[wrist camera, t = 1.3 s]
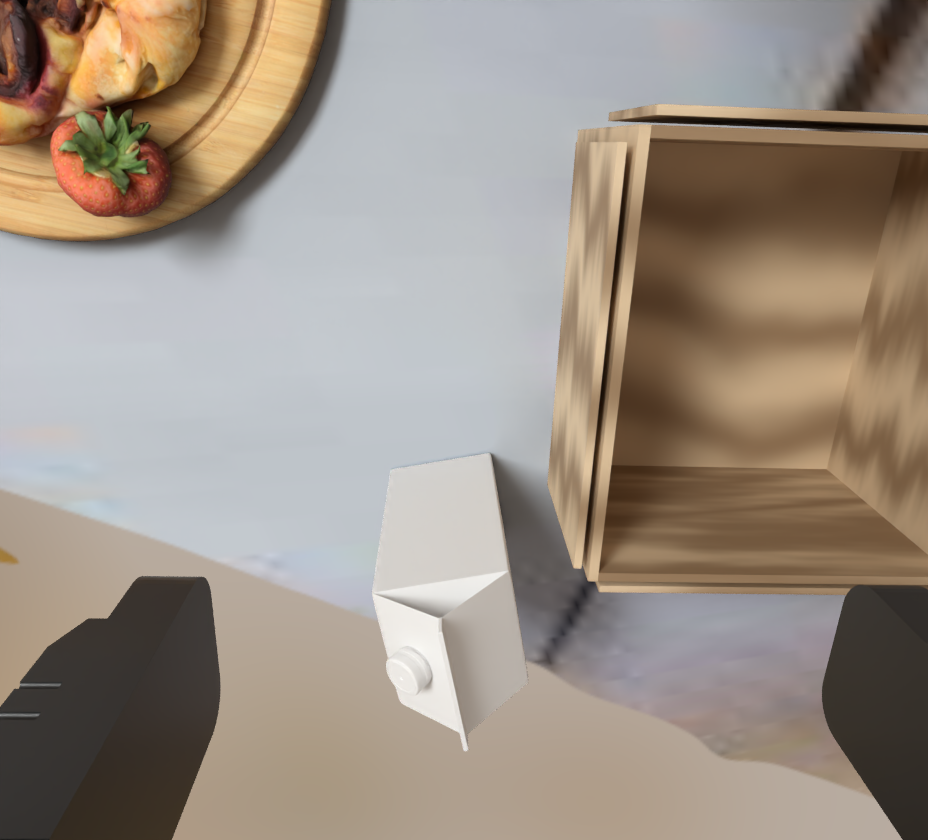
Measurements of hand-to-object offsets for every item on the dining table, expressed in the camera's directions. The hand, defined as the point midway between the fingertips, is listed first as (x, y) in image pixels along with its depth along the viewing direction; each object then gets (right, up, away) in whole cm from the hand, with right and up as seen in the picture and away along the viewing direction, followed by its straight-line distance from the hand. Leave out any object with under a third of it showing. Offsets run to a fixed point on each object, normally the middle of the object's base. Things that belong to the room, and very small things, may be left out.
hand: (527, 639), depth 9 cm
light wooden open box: (+16, +9, +38) cm, 42 cm away
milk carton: (-2, -3, +42) cm, 43 cm away
